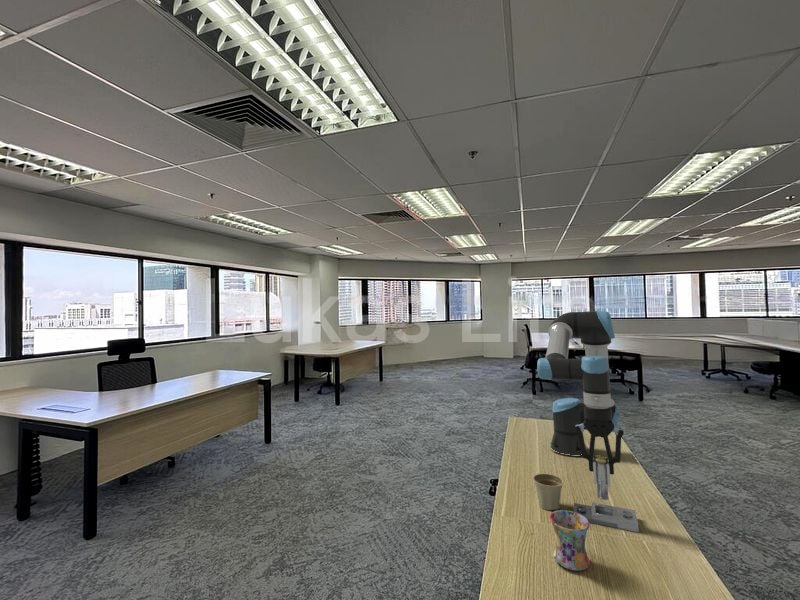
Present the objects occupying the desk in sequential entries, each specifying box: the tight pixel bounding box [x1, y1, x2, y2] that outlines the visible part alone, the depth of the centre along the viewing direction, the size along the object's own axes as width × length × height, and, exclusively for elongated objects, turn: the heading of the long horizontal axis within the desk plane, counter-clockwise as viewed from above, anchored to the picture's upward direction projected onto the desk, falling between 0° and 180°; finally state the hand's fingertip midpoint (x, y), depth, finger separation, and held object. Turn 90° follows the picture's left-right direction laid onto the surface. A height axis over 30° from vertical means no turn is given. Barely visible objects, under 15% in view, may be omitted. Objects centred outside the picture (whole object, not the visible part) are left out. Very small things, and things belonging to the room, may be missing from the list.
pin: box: [593, 454, 610, 501], centre depth 112 cm, size 4×4×12 cm
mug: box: [549, 509, 591, 572], centre depth 94 cm, size 12×9×11 cm
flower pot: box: [532, 473, 564, 511], centre depth 120 cm, size 9×9×9 cm
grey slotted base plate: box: [572, 502, 640, 533], centre depth 111 cm, size 8×17×3 cm, turn 62°
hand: (602, 483), depth 112 cm, fingers closed on pin, 3 cm apart
